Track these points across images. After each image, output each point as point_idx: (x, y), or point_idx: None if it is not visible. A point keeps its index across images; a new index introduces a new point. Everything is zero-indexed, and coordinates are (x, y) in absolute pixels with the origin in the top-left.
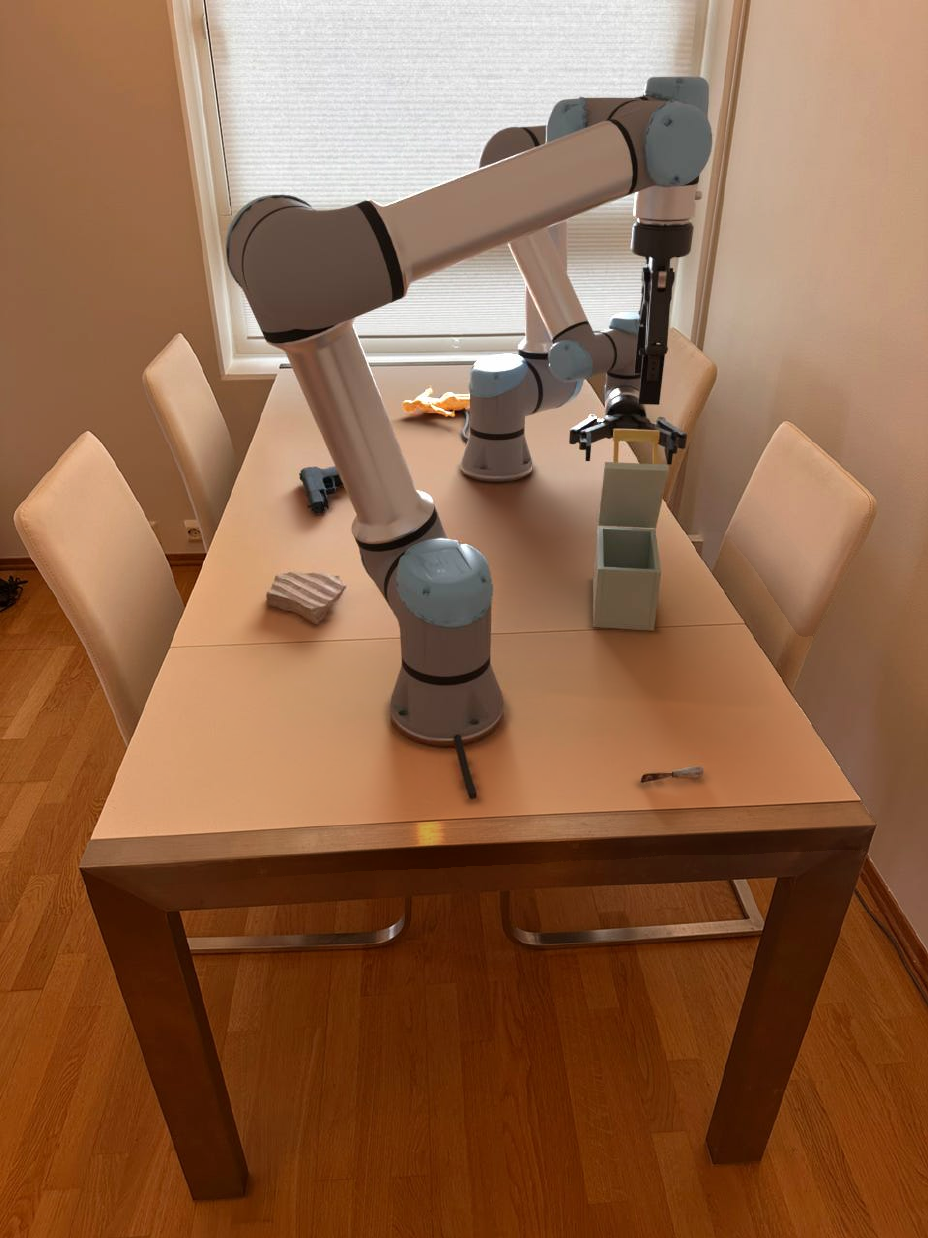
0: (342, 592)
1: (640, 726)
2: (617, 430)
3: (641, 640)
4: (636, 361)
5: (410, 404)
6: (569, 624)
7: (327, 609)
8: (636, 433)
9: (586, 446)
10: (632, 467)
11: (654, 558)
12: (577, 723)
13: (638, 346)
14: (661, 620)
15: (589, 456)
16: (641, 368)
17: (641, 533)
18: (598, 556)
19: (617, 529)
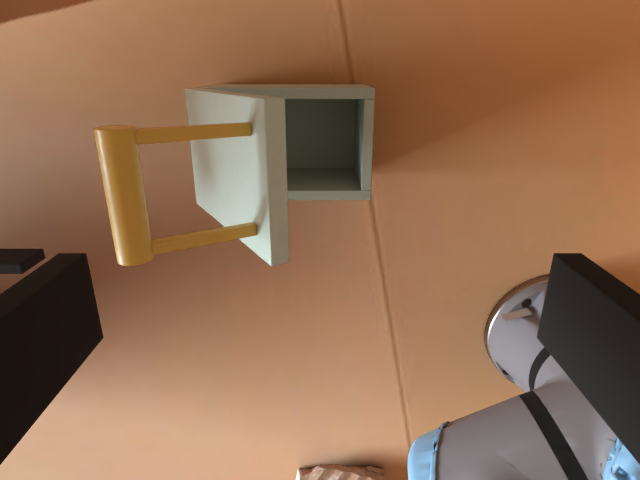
0: (329, 465)
1: (590, 115)
2: (135, 255)
3: (390, 104)
4: (70, 369)
5: None
6: (355, 206)
7: (355, 467)
8: (135, 200)
9: (16, 271)
10: (281, 197)
11: (321, 97)
12: (576, 192)
13: (20, 430)
14: (331, 69)
15: (36, 254)
16: (84, 323)
17: None
18: (325, 199)
19: None
